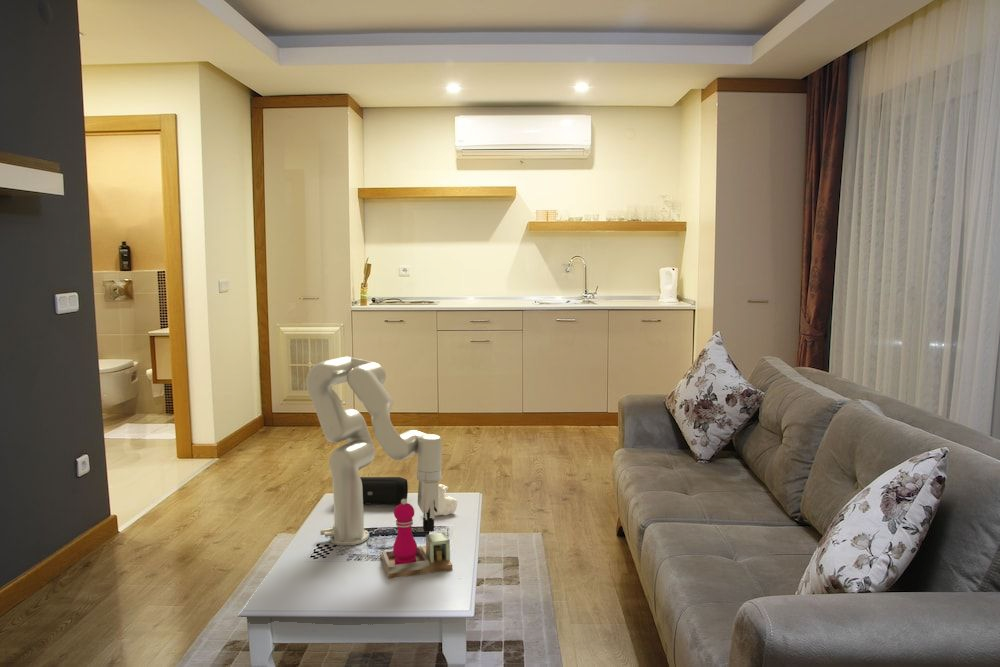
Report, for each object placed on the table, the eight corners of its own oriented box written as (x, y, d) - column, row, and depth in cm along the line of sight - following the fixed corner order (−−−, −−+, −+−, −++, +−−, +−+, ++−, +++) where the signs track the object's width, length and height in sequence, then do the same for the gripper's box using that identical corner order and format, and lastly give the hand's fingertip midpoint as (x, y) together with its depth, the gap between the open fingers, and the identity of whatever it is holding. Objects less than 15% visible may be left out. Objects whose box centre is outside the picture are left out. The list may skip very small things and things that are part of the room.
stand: (388, 578, 207) (388, 564, 206) (380, 556, 222) (380, 543, 221) (452, 569, 212) (452, 554, 212) (440, 548, 227) (439, 535, 227)
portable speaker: (336, 508, 266) (335, 482, 265) (342, 499, 276) (341, 473, 274) (404, 507, 265) (403, 481, 264) (408, 498, 275) (407, 473, 274)
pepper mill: (397, 570, 208) (396, 504, 206) (390, 561, 215) (388, 497, 212) (421, 565, 212) (419, 500, 209) (412, 556, 218) (411, 493, 216)
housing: (430, 563, 213) (429, 542, 212) (426, 555, 219) (425, 535, 218) (449, 560, 215) (449, 539, 214) (445, 552, 221) (444, 532, 220)
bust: (457, 518, 260) (456, 488, 266) (457, 511, 253) (456, 481, 259) (424, 519, 259) (424, 489, 265) (423, 512, 252) (423, 482, 258)
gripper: (412, 467, 228) (412, 522, 231) (422, 483, 214) (421, 541, 217) (435, 466, 231) (434, 520, 233) (446, 481, 217) (445, 538, 219)
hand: (428, 530), depth 225 cm, fingers closed
